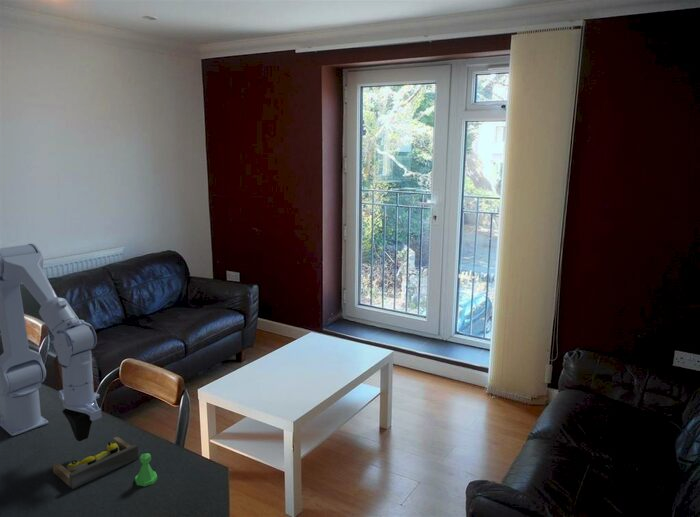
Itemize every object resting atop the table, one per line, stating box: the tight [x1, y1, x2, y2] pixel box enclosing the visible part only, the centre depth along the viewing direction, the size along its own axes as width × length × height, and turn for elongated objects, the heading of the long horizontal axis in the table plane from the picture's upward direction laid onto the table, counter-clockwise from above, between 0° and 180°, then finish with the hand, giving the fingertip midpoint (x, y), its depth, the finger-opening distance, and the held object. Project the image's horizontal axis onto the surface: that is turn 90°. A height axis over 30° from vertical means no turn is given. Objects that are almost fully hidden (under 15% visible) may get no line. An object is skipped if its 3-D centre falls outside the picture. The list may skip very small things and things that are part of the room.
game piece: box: [134, 452, 158, 487], centre depth 107 cm, size 4×4×6 cm
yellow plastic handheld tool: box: [66, 442, 120, 473], centre depth 112 cm, size 10×6×4 cm, turn 150°
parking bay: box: [52, 436, 139, 490], centre depth 111 cm, size 8×14×3 cm, turn 142°
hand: (82, 438), depth 114 cm, fingers closed
